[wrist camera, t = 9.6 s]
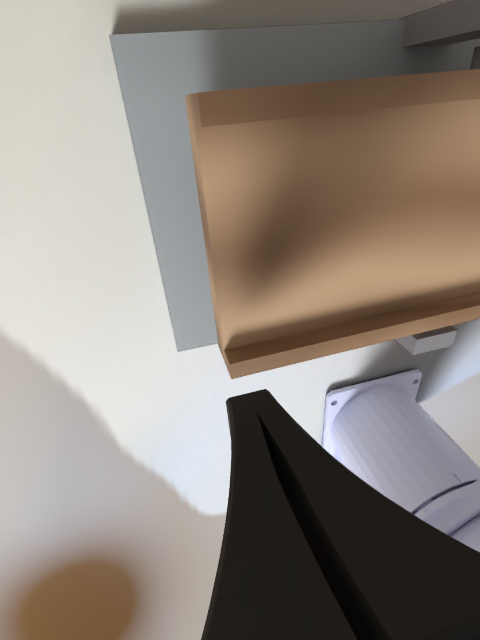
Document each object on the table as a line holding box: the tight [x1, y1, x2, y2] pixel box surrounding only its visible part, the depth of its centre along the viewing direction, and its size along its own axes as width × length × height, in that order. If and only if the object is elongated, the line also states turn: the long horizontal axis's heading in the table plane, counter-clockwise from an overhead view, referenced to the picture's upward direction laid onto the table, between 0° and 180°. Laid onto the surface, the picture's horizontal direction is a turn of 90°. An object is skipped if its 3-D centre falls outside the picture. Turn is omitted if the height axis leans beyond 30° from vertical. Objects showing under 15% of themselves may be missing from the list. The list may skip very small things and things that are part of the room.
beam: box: [185, 46, 480, 379], centre depth 15 cm, size 11×22×3 cm, turn 94°
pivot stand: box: [109, 0, 480, 355], centre depth 17 cm, size 14×26×6 cm, turn 94°
